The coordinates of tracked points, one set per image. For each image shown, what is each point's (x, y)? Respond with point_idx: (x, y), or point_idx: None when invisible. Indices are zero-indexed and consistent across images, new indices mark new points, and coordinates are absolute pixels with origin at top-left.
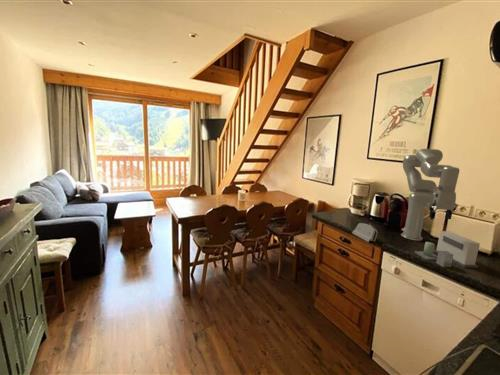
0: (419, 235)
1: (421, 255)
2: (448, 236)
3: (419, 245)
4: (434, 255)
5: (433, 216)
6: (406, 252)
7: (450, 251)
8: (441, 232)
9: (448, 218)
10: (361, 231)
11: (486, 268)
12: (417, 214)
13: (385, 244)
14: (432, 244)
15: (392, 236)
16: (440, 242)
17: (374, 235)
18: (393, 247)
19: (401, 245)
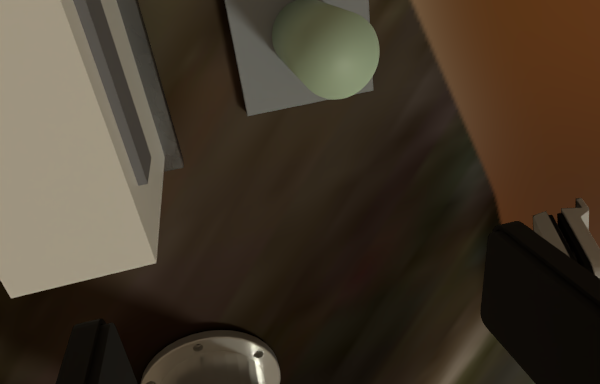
0: (180, 381)
1: (368, 13)
2: (116, 131)
3: (236, 247)
4: (248, 35)
5: (551, 251)
6: (433, 75)
7: (114, 24)
8: (150, 239)
9: (120, 344)
10: None
11: None
12: None
13: (492, 189)
14: (332, 26)
15: (348, 347)
16: (153, 169)
17: (567, 245)
18: (470, 149)
19: (384, 205)
